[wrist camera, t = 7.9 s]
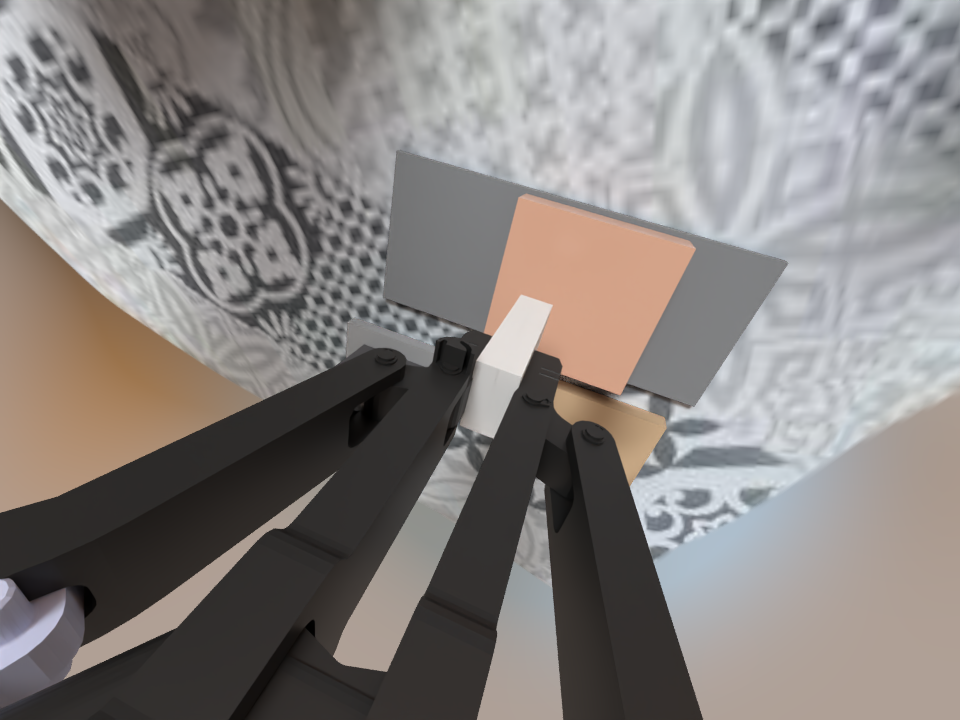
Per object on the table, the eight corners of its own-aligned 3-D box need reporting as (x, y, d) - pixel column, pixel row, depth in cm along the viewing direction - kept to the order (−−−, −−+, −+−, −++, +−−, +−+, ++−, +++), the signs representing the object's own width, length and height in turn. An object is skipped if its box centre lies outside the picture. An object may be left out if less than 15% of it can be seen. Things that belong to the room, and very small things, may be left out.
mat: (386, 295, 28) (382, 297, 28) (400, 150, 23) (396, 150, 23) (692, 402, 25) (694, 406, 25) (785, 260, 20) (788, 262, 20)
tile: (480, 345, 25) (620, 395, 23) (518, 197, 20) (696, 249, 19) (490, 331, 27) (620, 377, 25) (526, 193, 22) (689, 240, 21)
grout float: (352, 369, 33) (278, 430, 26) (355, 317, 30) (273, 368, 23) (450, 407, 32) (401, 482, 24) (462, 355, 29) (411, 423, 22)
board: (499, 438, 31) (495, 447, 30) (523, 366, 28) (519, 374, 27) (622, 486, 30) (622, 498, 29) (664, 417, 26) (666, 428, 25)
